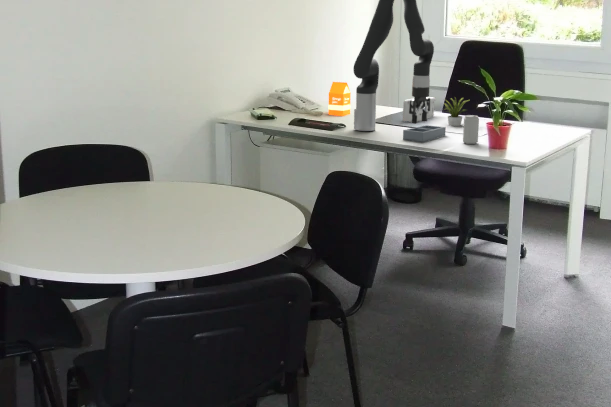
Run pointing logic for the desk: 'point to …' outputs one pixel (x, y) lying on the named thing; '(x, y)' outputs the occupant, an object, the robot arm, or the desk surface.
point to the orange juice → (339, 99)
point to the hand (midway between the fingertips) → (419, 122)
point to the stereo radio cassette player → (419, 116)
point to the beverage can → (470, 129)
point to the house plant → (455, 112)
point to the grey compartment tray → (423, 133)
